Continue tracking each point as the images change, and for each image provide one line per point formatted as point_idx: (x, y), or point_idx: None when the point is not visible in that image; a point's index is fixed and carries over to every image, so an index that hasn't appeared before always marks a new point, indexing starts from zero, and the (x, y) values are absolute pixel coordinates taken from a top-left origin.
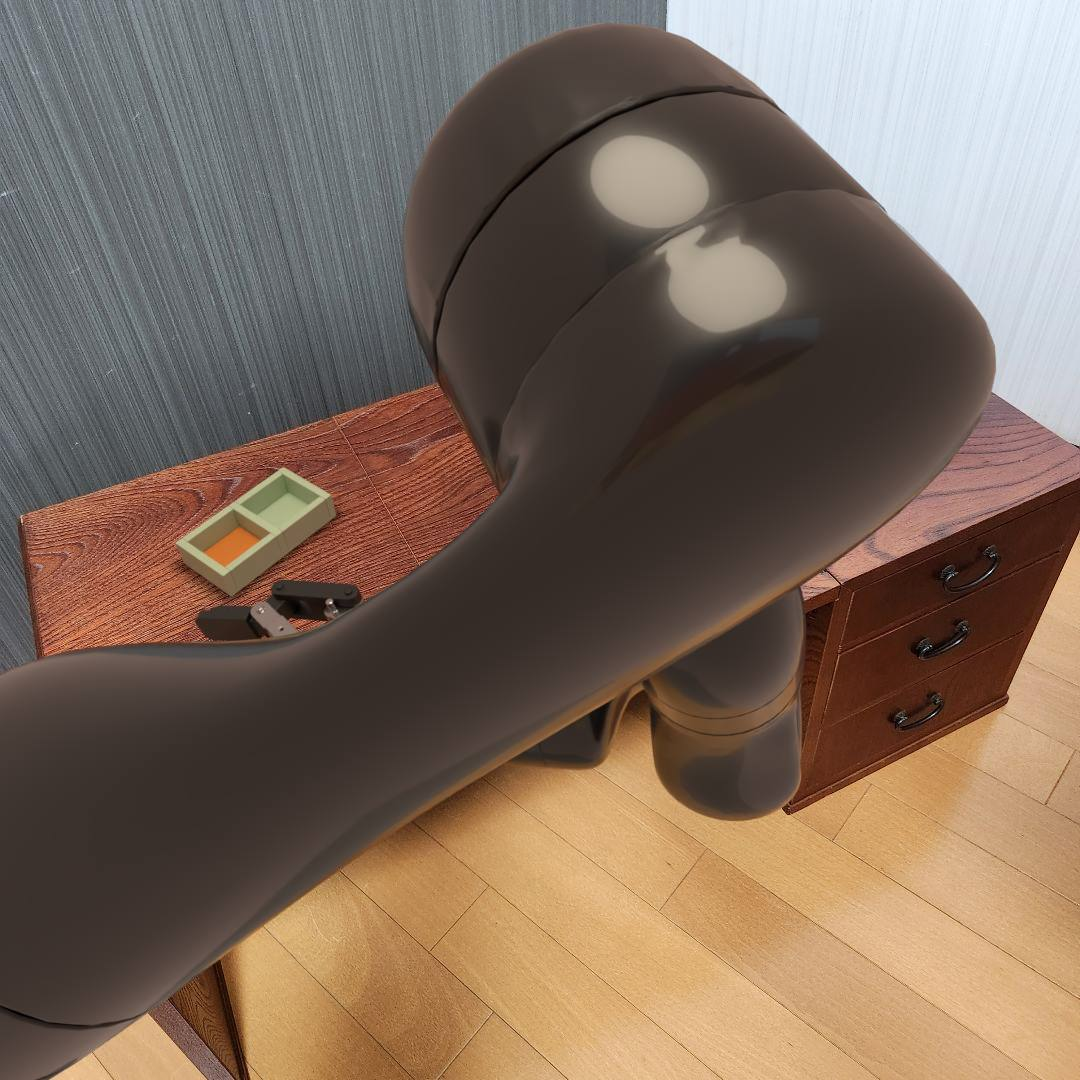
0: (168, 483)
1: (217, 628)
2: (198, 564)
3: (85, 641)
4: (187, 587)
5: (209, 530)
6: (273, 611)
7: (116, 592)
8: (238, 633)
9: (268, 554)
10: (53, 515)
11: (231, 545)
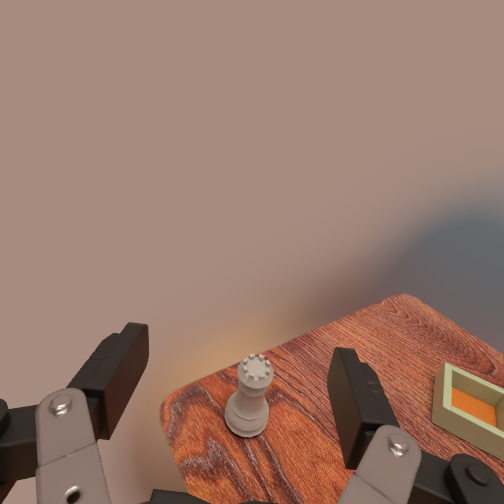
0: (484, 347)
1: (338, 383)
2: (440, 385)
3: (347, 337)
4: (418, 385)
5: (473, 383)
6: (407, 481)
7: (388, 343)
8: (343, 420)
9: (490, 442)
10: (416, 299)
11: (473, 406)
